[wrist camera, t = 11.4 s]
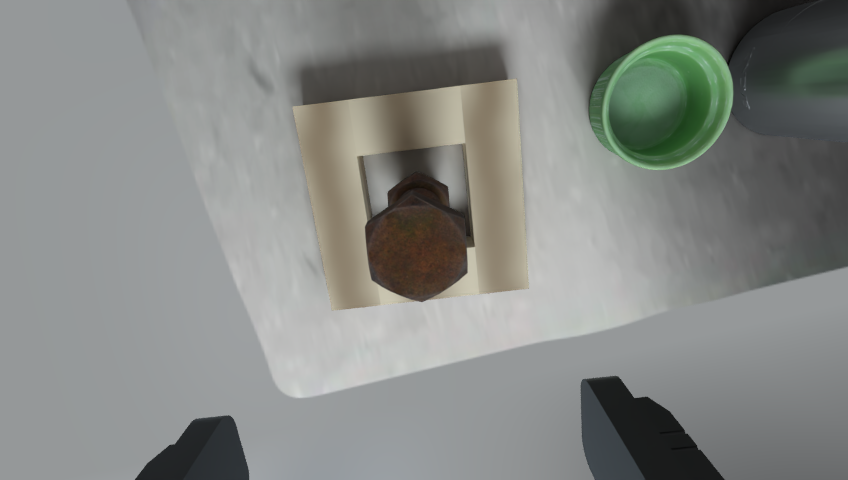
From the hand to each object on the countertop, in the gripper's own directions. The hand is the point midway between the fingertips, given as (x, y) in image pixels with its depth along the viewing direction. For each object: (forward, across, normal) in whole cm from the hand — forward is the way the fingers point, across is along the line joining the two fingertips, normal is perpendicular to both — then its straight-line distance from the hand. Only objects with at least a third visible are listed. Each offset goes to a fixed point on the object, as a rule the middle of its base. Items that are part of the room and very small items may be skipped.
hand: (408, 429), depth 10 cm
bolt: (+28, 0, 0) cm, 28 cm away
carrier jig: (+28, 0, 0) cm, 28 cm away
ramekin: (+28, -18, -5) cm, 34 cm away
